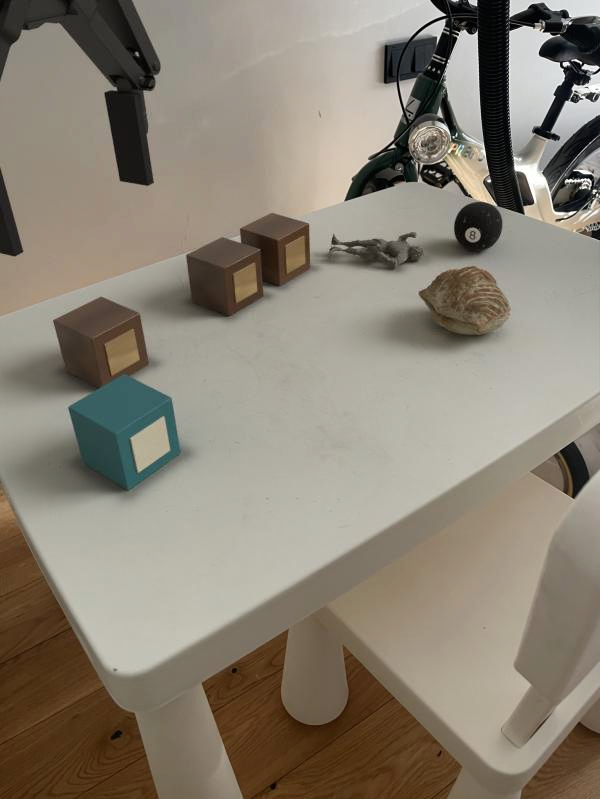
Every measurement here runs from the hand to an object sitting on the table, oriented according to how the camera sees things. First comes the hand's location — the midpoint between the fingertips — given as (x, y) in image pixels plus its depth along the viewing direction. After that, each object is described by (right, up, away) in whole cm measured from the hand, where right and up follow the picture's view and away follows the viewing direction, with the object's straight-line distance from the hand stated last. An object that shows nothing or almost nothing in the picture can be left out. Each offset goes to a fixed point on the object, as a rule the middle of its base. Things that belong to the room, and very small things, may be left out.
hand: (76, 213), depth 52 cm
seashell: (+33, -5, +28) cm, 44 cm away
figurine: (+25, +5, +43) cm, 50 cm away
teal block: (+1, -18, +12) cm, 22 cm away
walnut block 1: (-4, -10, +24) cm, 26 cm away
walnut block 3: (+13, +3, +40) cm, 43 cm away
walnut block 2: (+7, -1, +35) cm, 36 cm away
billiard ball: (+39, +6, +44) cm, 59 cm away
